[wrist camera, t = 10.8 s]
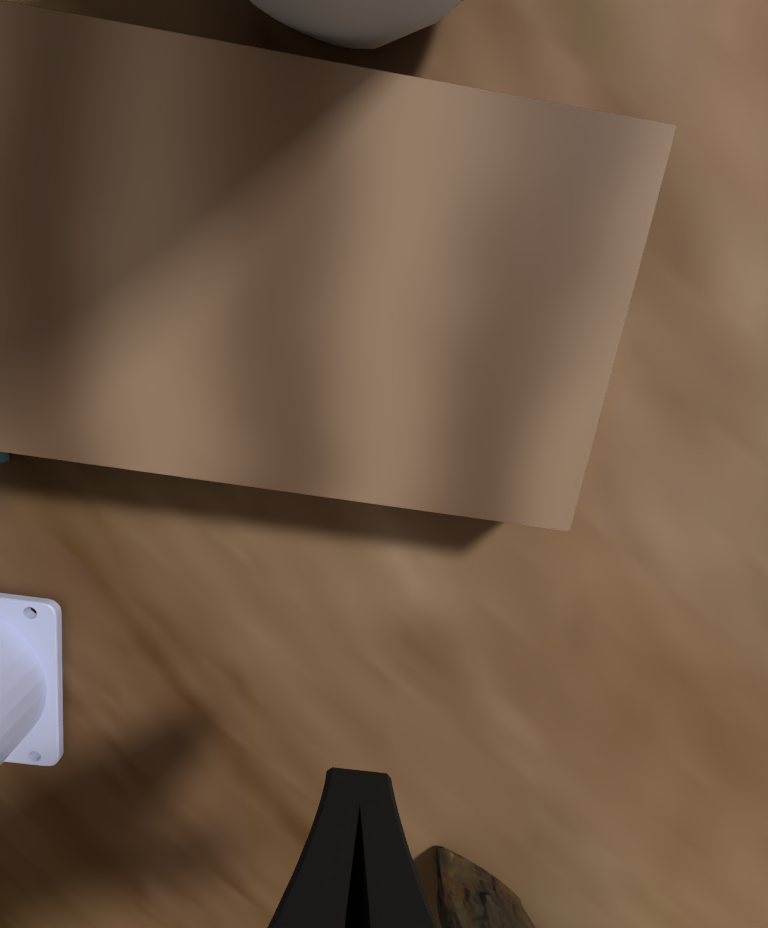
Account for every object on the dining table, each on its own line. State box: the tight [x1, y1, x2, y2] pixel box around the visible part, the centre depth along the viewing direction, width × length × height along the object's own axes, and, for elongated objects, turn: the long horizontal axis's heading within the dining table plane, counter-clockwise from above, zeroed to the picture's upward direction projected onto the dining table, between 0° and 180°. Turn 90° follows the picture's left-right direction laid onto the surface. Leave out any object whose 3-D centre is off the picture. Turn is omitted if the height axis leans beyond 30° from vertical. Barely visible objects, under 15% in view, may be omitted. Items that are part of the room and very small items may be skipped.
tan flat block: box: [0, 0, 677, 531], centre depth 15 cm, size 20×12×4 cm, turn 81°
